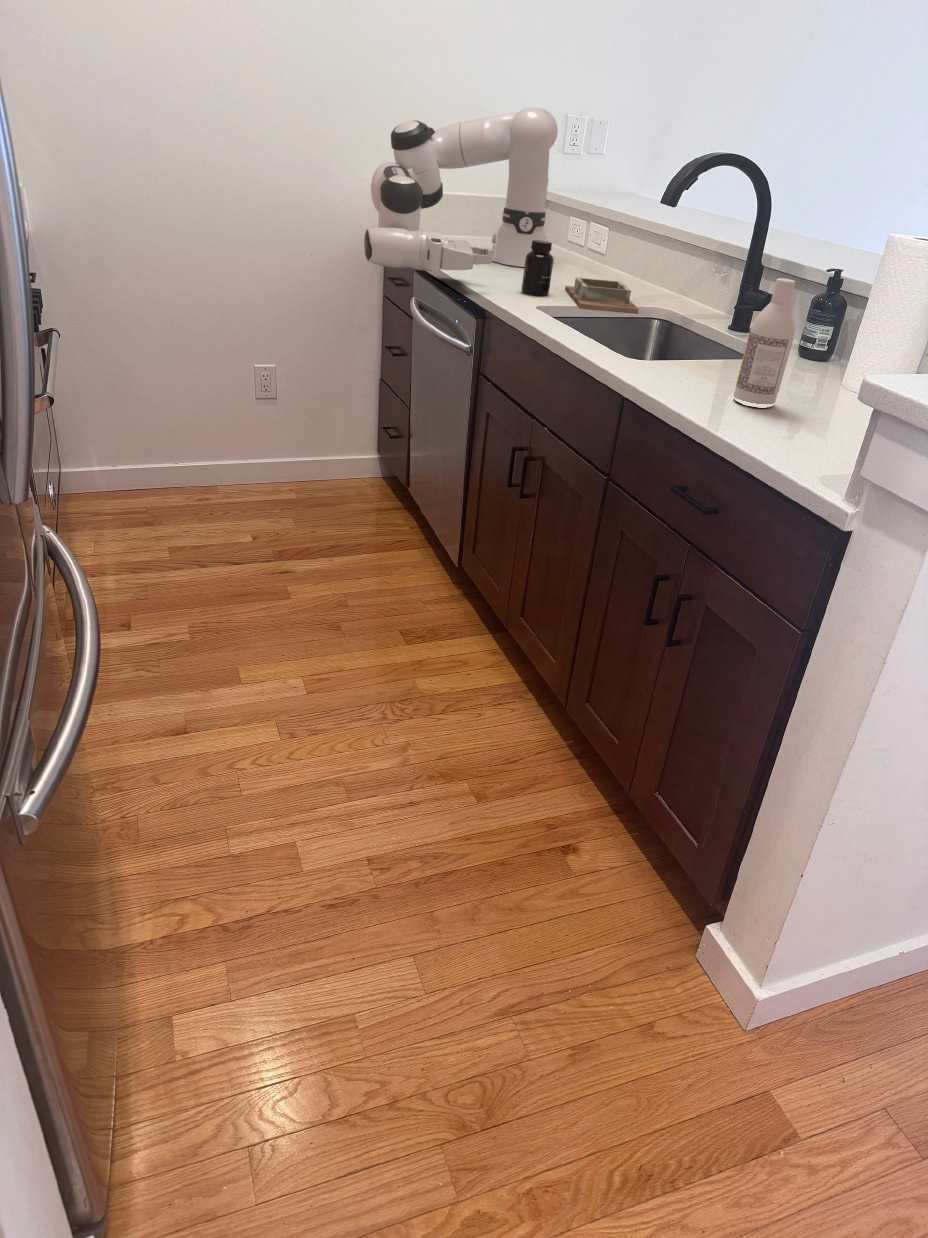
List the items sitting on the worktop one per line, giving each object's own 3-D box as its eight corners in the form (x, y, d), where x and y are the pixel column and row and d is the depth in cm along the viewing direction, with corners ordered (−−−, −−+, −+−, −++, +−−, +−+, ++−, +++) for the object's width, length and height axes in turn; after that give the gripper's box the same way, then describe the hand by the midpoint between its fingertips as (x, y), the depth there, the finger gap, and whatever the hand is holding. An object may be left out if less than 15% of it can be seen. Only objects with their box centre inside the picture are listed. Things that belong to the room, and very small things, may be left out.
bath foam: (742, 394, 154) (774, 273, 143) (780, 404, 150) (815, 282, 140) (725, 401, 149) (756, 276, 139) (763, 412, 145) (798, 285, 135)
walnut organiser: (564, 289, 224) (567, 273, 222) (618, 294, 226) (621, 278, 224) (579, 308, 206) (582, 290, 204) (638, 313, 207) (641, 295, 205)
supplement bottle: (546, 298, 212) (554, 244, 206) (519, 294, 213) (525, 241, 207) (550, 293, 218) (557, 241, 212) (523, 289, 219) (529, 237, 213)
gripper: (430, 257, 220) (484, 262, 221) (432, 272, 202) (492, 278, 204) (432, 230, 217) (487, 235, 218) (434, 243, 199) (495, 249, 201)
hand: (489, 256), depth 211 cm, fingers open, 8 cm apart
